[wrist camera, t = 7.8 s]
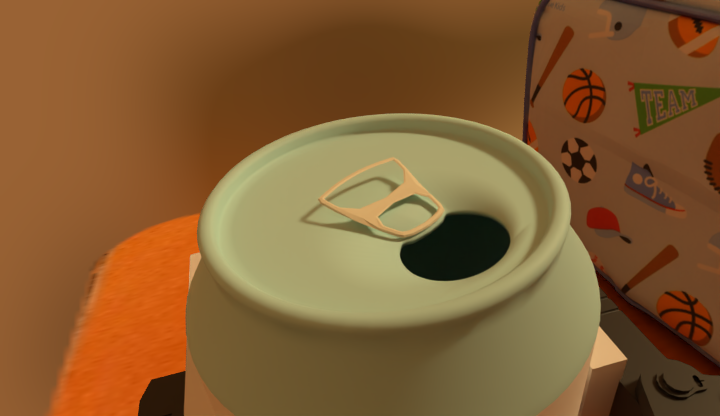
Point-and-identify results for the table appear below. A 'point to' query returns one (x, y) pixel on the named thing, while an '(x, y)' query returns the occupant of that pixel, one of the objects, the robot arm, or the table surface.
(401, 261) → the can
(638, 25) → the lunch box
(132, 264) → the table surface
